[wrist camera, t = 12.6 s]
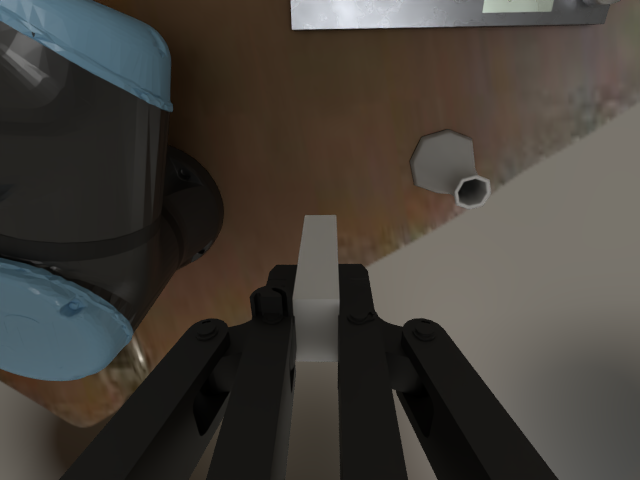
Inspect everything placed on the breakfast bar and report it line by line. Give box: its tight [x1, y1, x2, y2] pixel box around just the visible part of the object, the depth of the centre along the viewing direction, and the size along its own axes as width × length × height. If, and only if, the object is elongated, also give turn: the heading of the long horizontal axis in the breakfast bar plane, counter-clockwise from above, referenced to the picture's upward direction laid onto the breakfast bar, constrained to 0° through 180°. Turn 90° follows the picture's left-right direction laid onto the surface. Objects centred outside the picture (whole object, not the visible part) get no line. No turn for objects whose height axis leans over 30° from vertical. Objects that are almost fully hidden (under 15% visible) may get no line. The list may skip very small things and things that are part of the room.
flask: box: [410, 129, 491, 209], centre depth 36 cm, size 7×7×10 cm
